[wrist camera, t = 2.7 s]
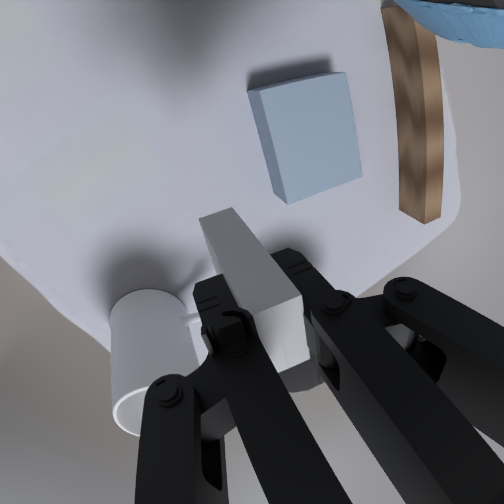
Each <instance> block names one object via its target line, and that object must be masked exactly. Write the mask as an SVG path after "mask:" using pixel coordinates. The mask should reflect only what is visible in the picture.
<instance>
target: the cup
mask: <svg viewBox="0 0 504 504" xmlns="http://www.w3.org/2000/svg"><path fill="white" fill-rule="evenodd" d="M309 353H310V359H309V360H306V361H304V362H302V363H300V364H298V365H295V366H293V367H291V368H288V369H286V370H284V371H281V372H279V373H278V374H279V376H280V378H281V379H282V381H283V383H284V385H285V387H286V389H287V390H288V392H289V393H290V394H294V393H300V392H305V391H309V390H311V389H314V388H315V387H318V386H320V385H322V384H324V383H326V382H325V381H324V379H323V378H322V379H323V383H322V384H319V381H318V377H317V366H316V358H315V357H314V355H313V354H312V352H311V351H310V349H309Z"/></svg>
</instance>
